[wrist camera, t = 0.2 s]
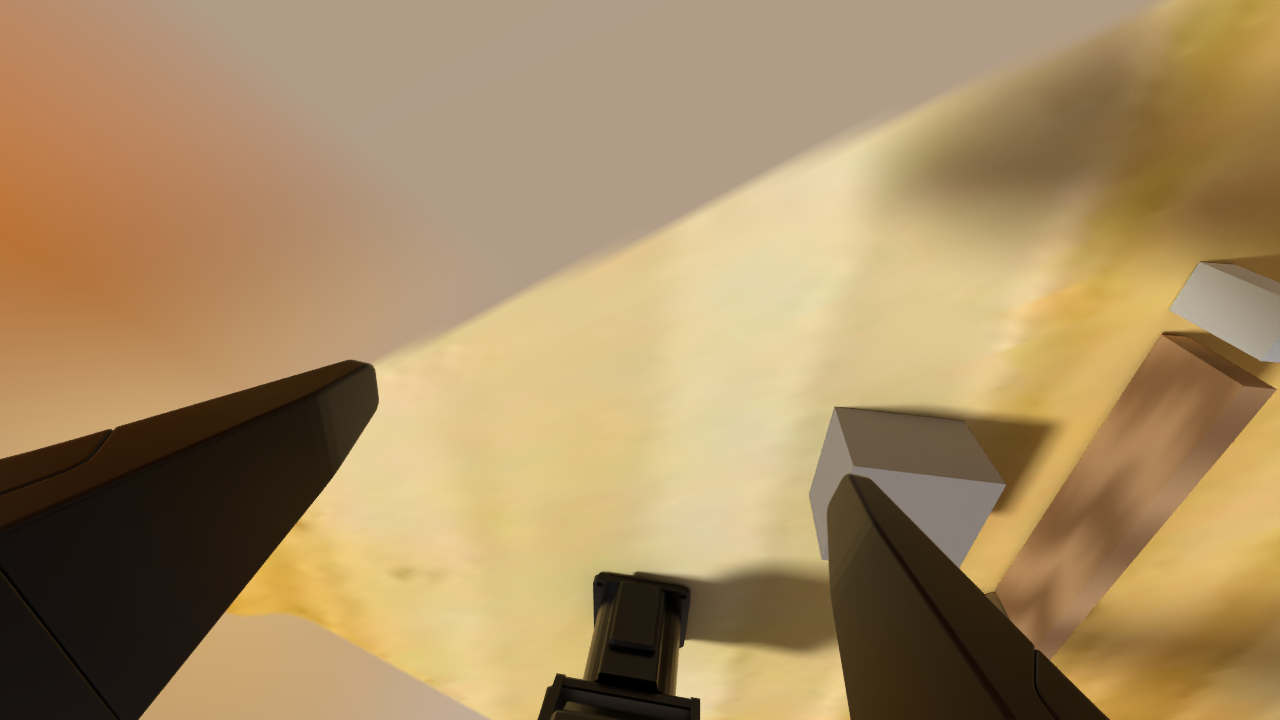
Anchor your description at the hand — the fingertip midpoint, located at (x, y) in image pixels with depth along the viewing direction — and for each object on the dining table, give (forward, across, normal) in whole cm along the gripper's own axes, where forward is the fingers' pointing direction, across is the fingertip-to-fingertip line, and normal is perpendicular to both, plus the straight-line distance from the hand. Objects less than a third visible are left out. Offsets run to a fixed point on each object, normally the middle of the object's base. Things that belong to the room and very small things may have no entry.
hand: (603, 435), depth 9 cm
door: (+14, -22, +8) cm, 28 cm away
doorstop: (+14, -13, +9) cm, 21 cm away
